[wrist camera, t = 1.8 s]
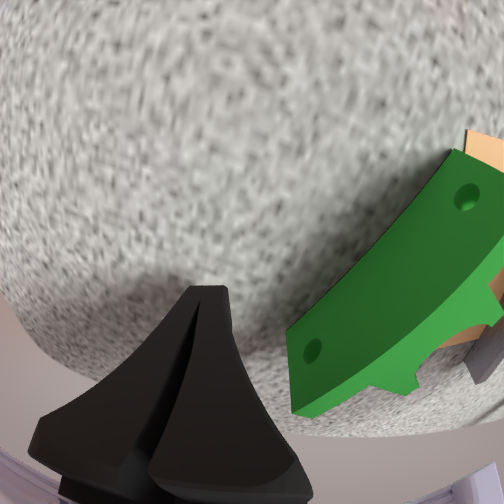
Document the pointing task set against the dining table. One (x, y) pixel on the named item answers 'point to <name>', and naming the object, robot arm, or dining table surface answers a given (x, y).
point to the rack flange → (500, 334)
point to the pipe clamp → (405, 292)
